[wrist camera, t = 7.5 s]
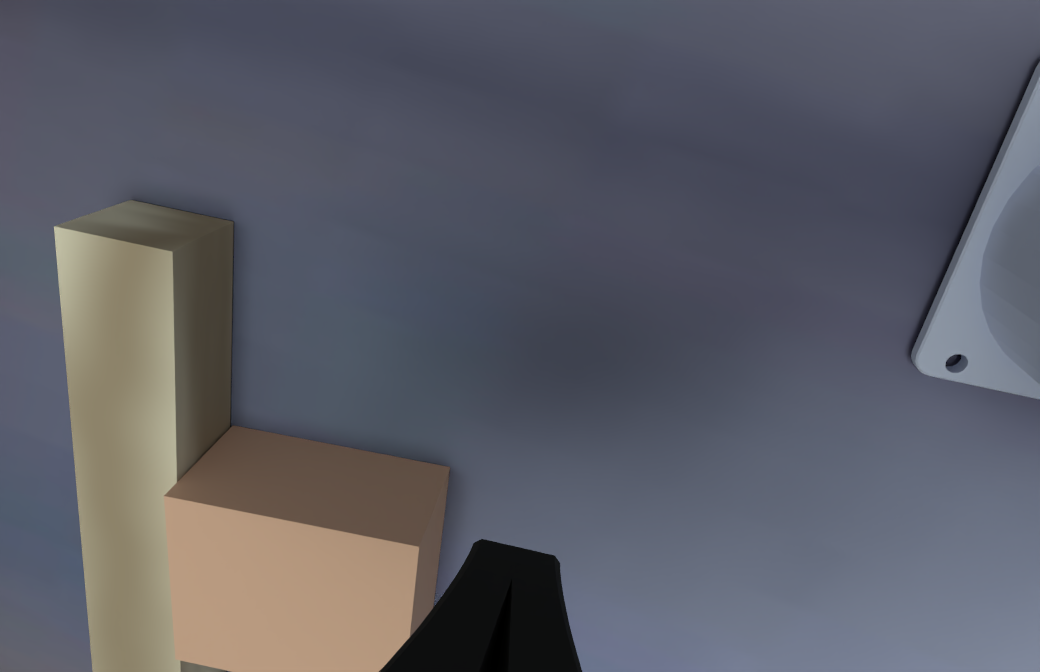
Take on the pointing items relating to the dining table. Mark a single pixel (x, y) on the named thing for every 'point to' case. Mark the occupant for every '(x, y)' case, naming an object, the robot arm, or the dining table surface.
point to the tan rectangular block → (301, 554)
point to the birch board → (141, 404)
